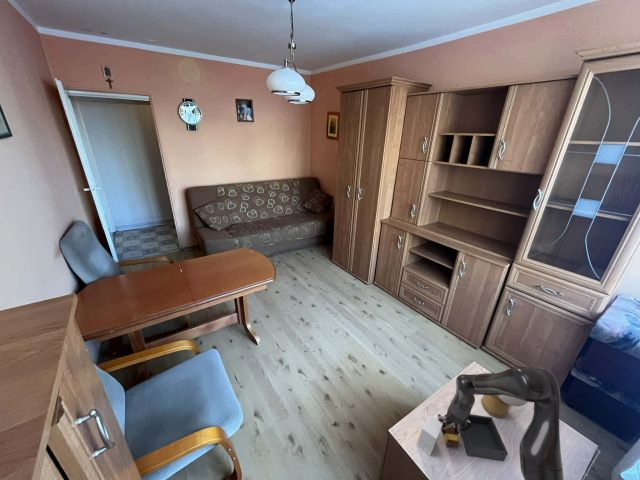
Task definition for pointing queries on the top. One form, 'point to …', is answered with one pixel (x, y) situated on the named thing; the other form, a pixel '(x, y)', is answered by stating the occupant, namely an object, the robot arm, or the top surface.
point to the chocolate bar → (451, 437)
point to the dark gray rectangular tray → (483, 439)
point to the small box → (429, 434)
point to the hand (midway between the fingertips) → (448, 432)
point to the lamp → (500, 404)
